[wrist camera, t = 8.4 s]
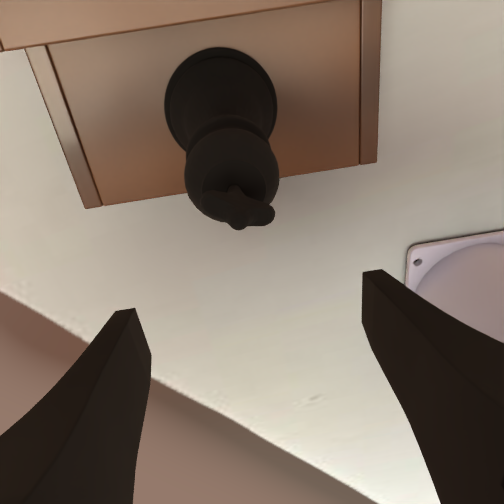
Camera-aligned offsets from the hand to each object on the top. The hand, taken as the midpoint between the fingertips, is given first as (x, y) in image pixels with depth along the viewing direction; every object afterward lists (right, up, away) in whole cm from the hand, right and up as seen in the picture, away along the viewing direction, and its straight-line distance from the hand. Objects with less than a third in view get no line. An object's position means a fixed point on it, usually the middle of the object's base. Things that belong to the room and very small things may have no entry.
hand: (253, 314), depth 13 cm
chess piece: (-1, +8, +3) cm, 9 cm away
